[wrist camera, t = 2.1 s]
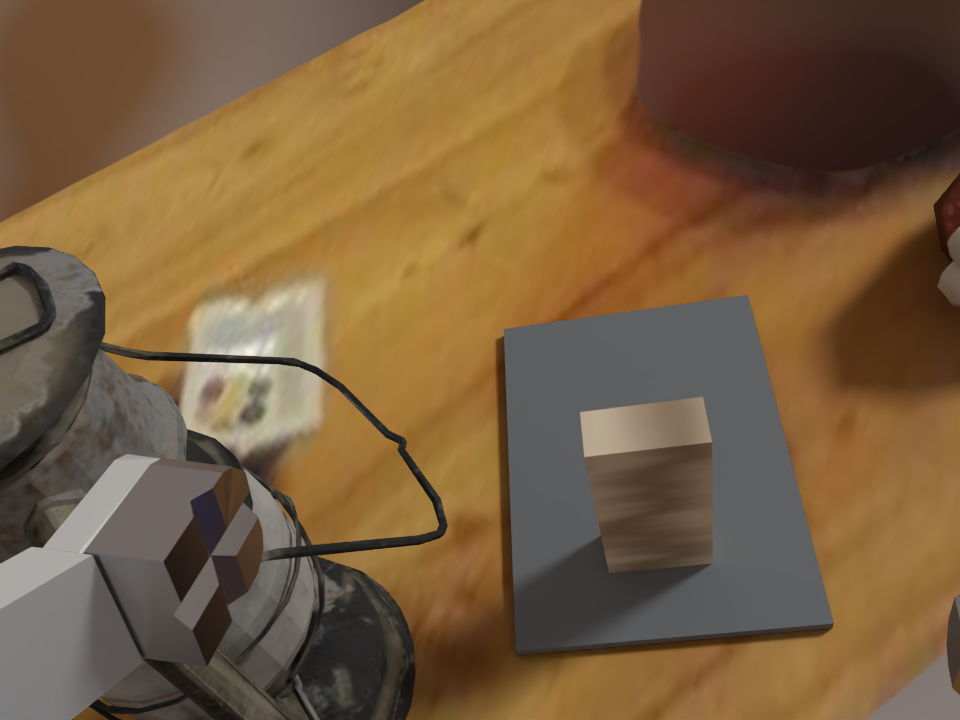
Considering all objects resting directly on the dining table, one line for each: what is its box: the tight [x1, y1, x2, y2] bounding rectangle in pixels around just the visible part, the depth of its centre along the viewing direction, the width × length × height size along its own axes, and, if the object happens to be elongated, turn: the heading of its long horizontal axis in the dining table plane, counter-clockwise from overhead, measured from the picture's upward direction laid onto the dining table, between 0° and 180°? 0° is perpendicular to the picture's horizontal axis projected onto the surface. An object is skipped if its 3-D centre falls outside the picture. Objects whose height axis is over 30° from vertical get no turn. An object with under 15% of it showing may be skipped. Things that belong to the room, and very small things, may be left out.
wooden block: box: [580, 397, 713, 573], centre depth 45 cm, size 6×2×12 cm, turn 90°
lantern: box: [0, 246, 448, 720], centre depth 39 cm, size 19×19×30 cm
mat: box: [504, 295, 834, 655], centre depth 54 cm, size 16×22×1 cm
